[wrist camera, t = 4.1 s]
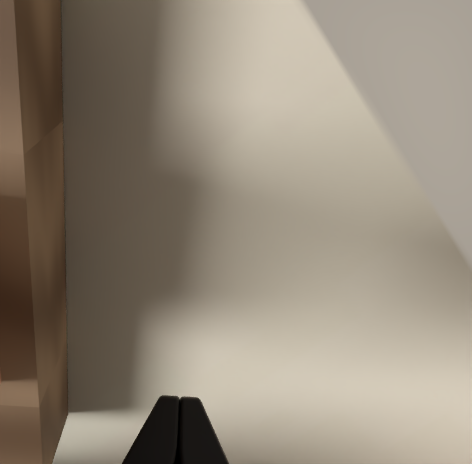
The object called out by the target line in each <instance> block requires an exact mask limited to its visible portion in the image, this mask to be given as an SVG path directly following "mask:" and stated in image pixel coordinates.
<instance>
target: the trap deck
mask: <svg viewBox="0 0 472 464" xmlns="http://www.w3.org/2000/svg"><path fill="white" fill-rule="evenodd" d="M0 373H1V383H0V464H52V462H53V458H54V455H55V452H56V449H57V446H58V443H59V440H60V437H61V434H62V431H63V428H64V425H65V422H66V419H67V416H68V377H67V320H66V264H65V208H64V151H63V95H62V38H61V0H0Z"/></svg>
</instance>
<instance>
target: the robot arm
mask: <svg viewBox="0 0 472 464" xmlns="http://www.w3.org/2000/svg"><path fill="white" fill-rule="evenodd" d="M122 464H229V462H228V460H227V458H226V456H225V454H224V451H223V449H222V447H221V445H220V442H219V440H218V438H217V436H216V433H215V431H214V429H213V427H212V424H211V422H210V420H209V418H208V416H207V413H206V411H205V409H204V407H203V404H202V402H201V400H200V399H199V398H197V397H181V398H180V399H179V397H177V396H167V395H162V396H160V397H159V399H158V400H157V402H156V404H155V406H154V407H153V409H152V411H151V413H150V415H149V416H148V418H147V420H146V422H145V423H144V425H143V427H142V429H141V431H140V432H139V434H138V436H137V438H136V439H135V441H134V443H133V445H132V446H131V448H130V450H129V452H128V454H127V455H126V457H125V459H124V461H123V462H122Z"/></svg>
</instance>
